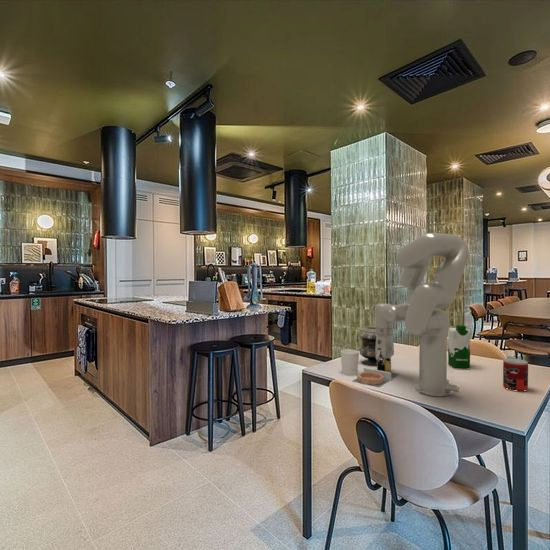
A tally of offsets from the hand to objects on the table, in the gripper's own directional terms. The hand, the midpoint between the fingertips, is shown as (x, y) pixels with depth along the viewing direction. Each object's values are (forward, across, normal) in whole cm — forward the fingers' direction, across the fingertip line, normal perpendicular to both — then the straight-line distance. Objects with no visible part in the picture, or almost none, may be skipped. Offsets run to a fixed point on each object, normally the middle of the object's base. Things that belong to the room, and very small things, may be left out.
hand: (384, 371), depth 155 cm
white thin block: (+1, -8, 0) cm, 8 cm away
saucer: (+1, -14, 0) cm, 14 cm away
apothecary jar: (+1, +12, +11) cm, 16 cm away
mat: (+1, -8, 0) cm, 8 cm away
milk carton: (+1, +33, -23) cm, 40 cm away
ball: (+1, 0, 0) cm, 1 cm away
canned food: (+1, +14, -47) cm, 49 cm away
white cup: (+1, -9, +12) cm, 15 cm away
